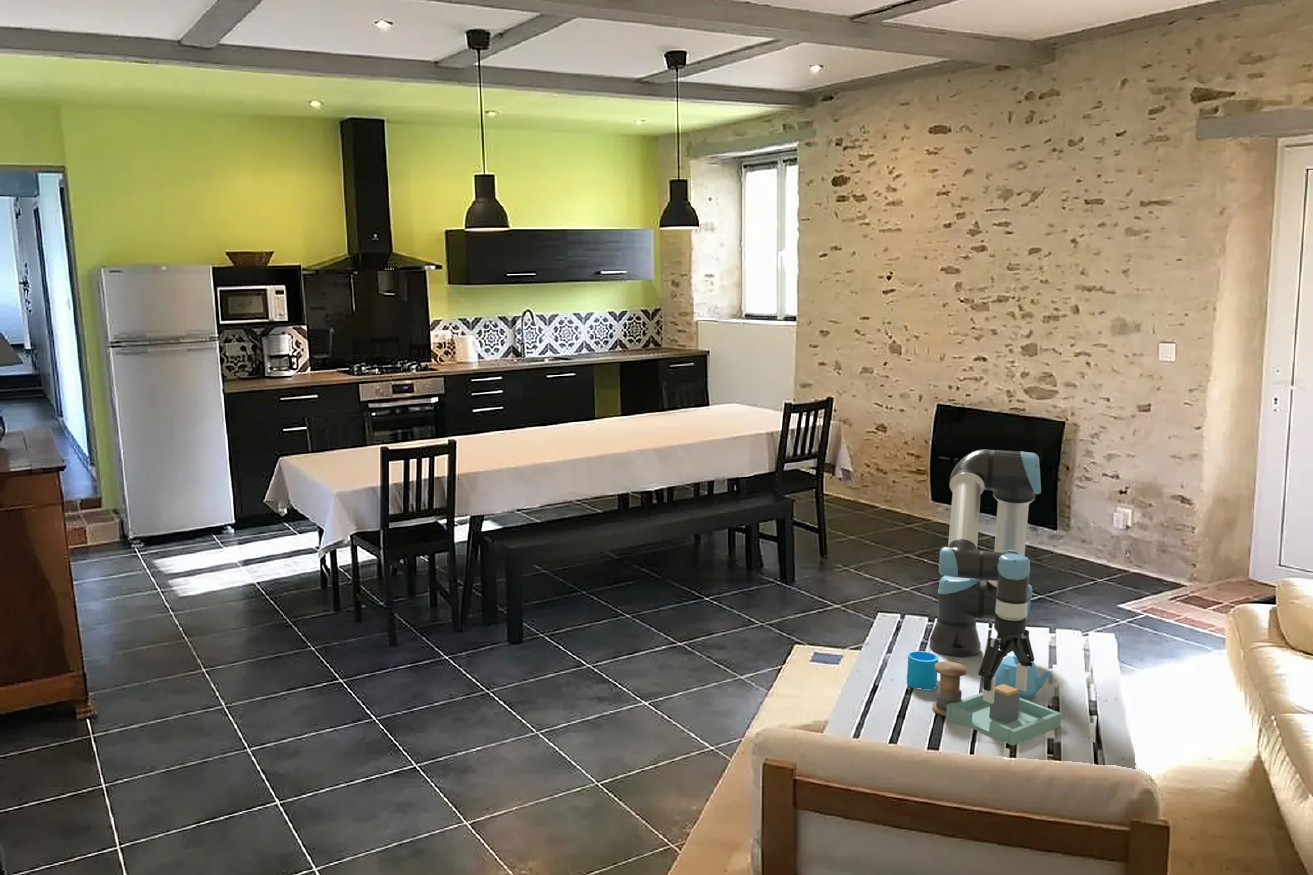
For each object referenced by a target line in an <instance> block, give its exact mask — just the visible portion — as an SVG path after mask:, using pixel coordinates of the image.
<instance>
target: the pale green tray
mask: <svg viewBox="0 0 1313 875" xmlns="http://www.w3.org/2000/svg"><path fill="white" fill-rule="evenodd" d="M989 713H990V703H989V702H986V701H984V700H983V692H980V693H976V694H974V695H971V696H968V697H966V698H963V699H962V698H961V701H960V702H957V703H950V704H948V705H947V711H946V716H945V718H946V719H948V720H951V721H953V722H956V723H958V724H960V725H963V726H965V727H968V728H970V729H973V730H974V731H977V732H980V733H982V734H984V735H987V736H989V737H992V738H994V739H996V740H999V741H1001V742H1003V743H1006V744H1008V745H1011V746H1016V745H1018V744H1020V743H1023V742H1025V741H1028V740H1030V739H1033V738H1036V737H1038V736H1040V735H1043V734H1045V733H1047V732H1050V731H1053V730H1055V729H1058V728H1060V727H1061V726H1062V725H1061V724H1062V713H1061V712H1059V711H1056V710H1054V709H1052V708H1049V707H1045V706H1043V705H1040V704H1037V703H1035V702H1032V701H1030V700H1028V699H1022V698H1019V711H1018V720H1015V721H1012V722H1010V723H1007V724H1005V723H1002V722H1000V721H997V720H995V719H992V718H990V717H989Z"/></svg>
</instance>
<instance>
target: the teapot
mask: <svg viewBox="0 0 1313 875" xmlns="http://www.w3.org/2000/svg"><path fill="white" fill-rule="evenodd" d="M1032 663H1033V665H1032V667H1030V666H1028V672H1027V673H1028V675H1027V685H1026V691H1022V690H1019V689H1018V692H1020V697H1019V698H1022V699H1025V700H1028V699H1032V698H1034V697H1035V696H1036V695H1037V693H1038V692H1039V691H1040V690H1041V689H1043V686H1044V685H1045V683H1046V682H1047V681H1048V679H1049V677H1050V676H1051V675H1052V671H1049V670H1047V669H1046V670H1045V671H1044V672H1043V673H1042V674H1041V675H1040V673H1039V671H1038V668H1037V666H1036V665H1037V664H1036V662H1035V661H1034V662H1032ZM1017 664H1021V663H1019V661H1018V659H1017V657H1016V656H1015V655H1011V656H1005V657H1004V658H1003V660H1002V662H1001V664H1000V666H999V667H998V669H997V671H996V673H995V675H994V677H993V678H995V687H996V686H999V685H1002V684H1005V685H1008V686H1010V687H1013V688H1015V684H1016V671H1017ZM1016 689H1017V688H1016ZM1033 696H1034V697H1033Z"/></svg>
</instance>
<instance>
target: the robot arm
mask: <svg viewBox="0 0 1313 875" xmlns="http://www.w3.org/2000/svg"><path fill="white" fill-rule="evenodd" d="M1040 467H1041V466H1040V457H1039V455H1038V454H1037V453H1035V452H1029V451H1027V452H1026V451H1022V450H1021V451H1014V450H999V449H997V450H996V449H985V448H984V449H978V450H974V451H972V452H970V453H968V454H966V455H965V456H964V457H963V458H961V459H960V461H958V463H956V465H955V466H954V468H953V469H952V472H951V474H950V478H949V489H950V491H951V492H952V496H951V497H952V498H951V507H950V508H951V509H950V521H949V532H948V544H947V547H946V546H945V547H941V548H940V549H939V550H940V551H939V558H938V560H939V561H938V573H939V574H940V575H941V576H942V577H940V579H939V583H938V584H939V585H938V589H937V594H938V600H937V612H936V623H935V625H934V628H933V630H932V632H931V635H930V637H929V648H930V650H933V651H934V652H936V653H939V654H942V655H946V656H951V657H961V658H962V657H963V658H964V657H965V658H967V657H974V656H977V655H979V654H980V653H981V649H982V648H981V647H982V646H981V641H980V638H979V632H978V629H977V619H979V620H990V621H994V622H993V628H994V630H995V631H996V634H997V635H996V638H994V637H989V638H988V640H987V647H986V650H985V653H984V655H983V658H982V661H981V665H980V667H979V669H978V673H977V675H978V676H980V677H983V685H982V686H983V687H982V688H983V689H982V690H983V700H984V701H986V702H989V703H991V704H993V703H994V693H995V678H994V675H995V673H996V671H997V669H998V667H999V666H1000V664H1001V662H1002V660H1003V659H1004V658H1006V657H1008V654H1009V653H1011V652H1013V654H1014V656H1016V657H1017V659H1018V661H1019V663H1021V664H1017V671H1016V684H1015V688H1017V689H1019V690H1022V691H1026V685H1027V675H1028V673H1027V672H1028V666H1030V667H1032V665H1033V663H1032V662H1034V663H1035V656H1034V652H1033V648H1032V645H1031V642H1030V641H1031V640H1030V631H1029V630H1028V629H1026V624H1027V618H1028V616H1029V611H1030V608H1031V602H1032V597H1033V587H1032V585H1031V584H1029V583H1030V574H1031V561H1030V559H1029V558H1028V557H1027V556H1025V552H1026V542H1027V541H1026V540H1027V531H1028V530H1027V528H1028V520H1029V519H1028V518H1029V507H1030V504H1031V503H1032V502H1033V501H1035V499H1036V495H1040V494H1041V492H1042V485H1041V470H1040V469H1041V468H1040ZM984 491H992V496H993V498H995V500H996V501H997V510H996V523H995V534H994V535H995V537H994V538H995V539H994V548H993V549H994V551H990V550H989V551H988V550H987V551H985V550H978V543H979V542H978V541H979V528H980V527H979V526H980V525H979V523H980V509H981V508H980V507H981V495H982V494H983V493H984Z"/></svg>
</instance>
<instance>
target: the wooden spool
mask: <svg viewBox="0 0 1313 875" xmlns="http://www.w3.org/2000/svg"><path fill="white" fill-rule="evenodd" d="M935 671H936V672H937V674H940V675H939V686H937V687H936V688H937V689H936V700H935V701H936V702H934V703H932V706H931V708H932V711H933V710H934V711H933V712H934V713H935V714H937V715H939V716H943V717H946V711H947V705H948V704H950V703H957V702H960V701H961V700H962V695H963V693H962V690H961V689H960V688H961V686H960V685H961V684H960V683H961V677H963V676H965V675H966V674H967V671H968V668H967V666H965V665H964V664H962V663H958V662H953V661H938V663H936V664H935Z"/></svg>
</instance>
